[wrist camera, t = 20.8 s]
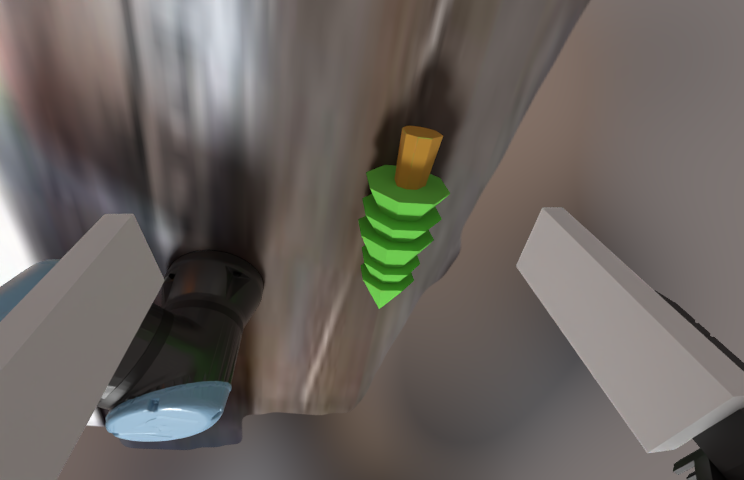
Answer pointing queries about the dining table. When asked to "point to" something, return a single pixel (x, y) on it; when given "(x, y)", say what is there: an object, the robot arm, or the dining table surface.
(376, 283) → the decorative tree
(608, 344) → the robot arm
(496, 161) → the dining table surface
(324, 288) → the dining table surface
